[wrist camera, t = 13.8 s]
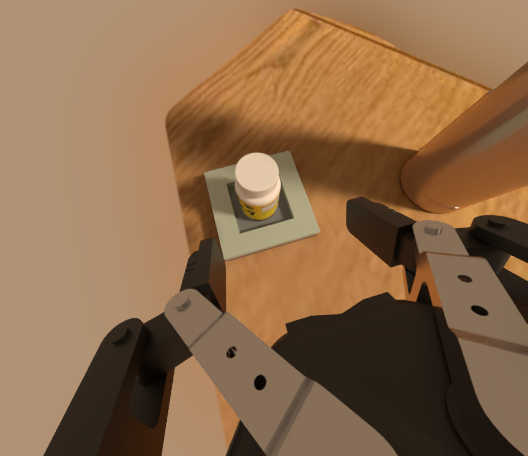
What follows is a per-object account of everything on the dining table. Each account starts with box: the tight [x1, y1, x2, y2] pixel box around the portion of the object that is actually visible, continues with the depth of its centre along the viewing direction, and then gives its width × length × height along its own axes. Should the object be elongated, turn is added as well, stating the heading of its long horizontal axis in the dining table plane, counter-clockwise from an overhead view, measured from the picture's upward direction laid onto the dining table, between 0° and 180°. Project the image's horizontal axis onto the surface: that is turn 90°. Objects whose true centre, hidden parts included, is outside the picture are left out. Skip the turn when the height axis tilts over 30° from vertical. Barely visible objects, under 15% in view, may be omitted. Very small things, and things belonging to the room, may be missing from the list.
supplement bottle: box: [235, 153, 281, 222], centre depth 21 cm, size 5×5×8 cm
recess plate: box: [204, 150, 321, 261], centre depth 25 cm, size 12×12×2 cm
